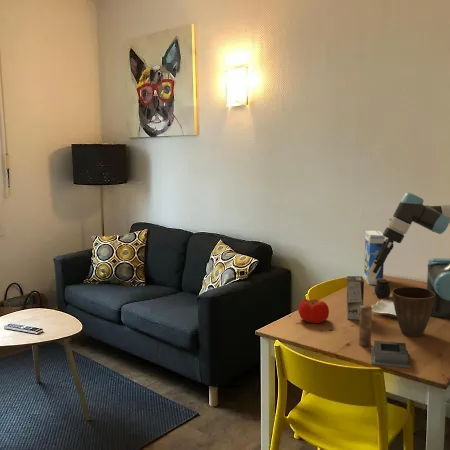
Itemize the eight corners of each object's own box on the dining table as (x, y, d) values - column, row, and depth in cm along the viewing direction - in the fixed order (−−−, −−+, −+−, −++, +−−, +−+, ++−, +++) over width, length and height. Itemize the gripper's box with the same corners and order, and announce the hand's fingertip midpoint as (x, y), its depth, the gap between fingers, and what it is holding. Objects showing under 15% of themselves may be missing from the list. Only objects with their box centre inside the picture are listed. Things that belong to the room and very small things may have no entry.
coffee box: (363, 320, 200) (364, 281, 198) (346, 319, 202) (347, 281, 199) (361, 312, 209) (362, 275, 207) (346, 312, 210) (346, 275, 208)
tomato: (335, 320, 201) (335, 300, 200) (317, 328, 192) (317, 307, 191) (309, 313, 210) (310, 293, 209) (291, 320, 201) (291, 300, 200)
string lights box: (363, 278, 264) (365, 230, 260) (378, 278, 263) (379, 230, 259) (368, 284, 251) (369, 234, 247) (383, 285, 250) (385, 234, 246)
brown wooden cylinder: (370, 343, 177) (371, 305, 175) (370, 347, 173) (371, 309, 171) (359, 342, 178) (360, 304, 176) (359, 346, 174) (360, 308, 172)
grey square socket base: (407, 352, 168) (408, 342, 168) (410, 368, 157) (411, 356, 156) (370, 349, 171) (371, 339, 171) (371, 364, 160) (371, 353, 159)
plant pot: (411, 343, 176) (412, 300, 173) (382, 330, 189) (383, 289, 187) (442, 336, 182) (444, 294, 179) (412, 323, 195) (413, 284, 193)
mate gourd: (392, 299, 227) (393, 277, 226) (376, 299, 227) (376, 278, 226) (387, 294, 234) (388, 273, 233) (371, 294, 234) (372, 274, 233)
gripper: (386, 224, 207) (362, 269, 210) (388, 227, 183) (360, 277, 187) (403, 233, 205) (378, 277, 209) (407, 236, 181) (379, 287, 185)
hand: (370, 277), depth 198 cm, fingers open, 13 cm apart
